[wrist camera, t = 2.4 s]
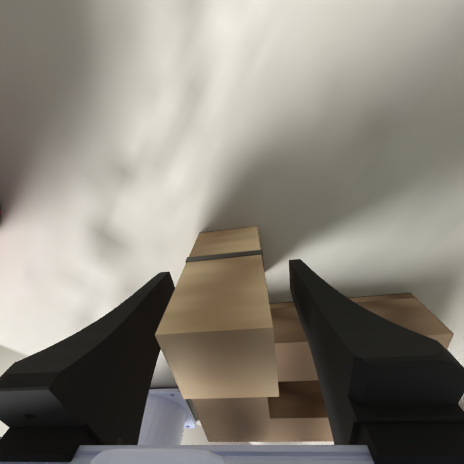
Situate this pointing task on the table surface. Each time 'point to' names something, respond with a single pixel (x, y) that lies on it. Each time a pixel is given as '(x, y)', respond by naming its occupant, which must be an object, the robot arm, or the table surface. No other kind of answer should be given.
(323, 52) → the table surface
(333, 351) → the robot arm
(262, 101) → the table surface
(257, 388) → the oak peg
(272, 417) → the walnut socket block
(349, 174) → the table surface
